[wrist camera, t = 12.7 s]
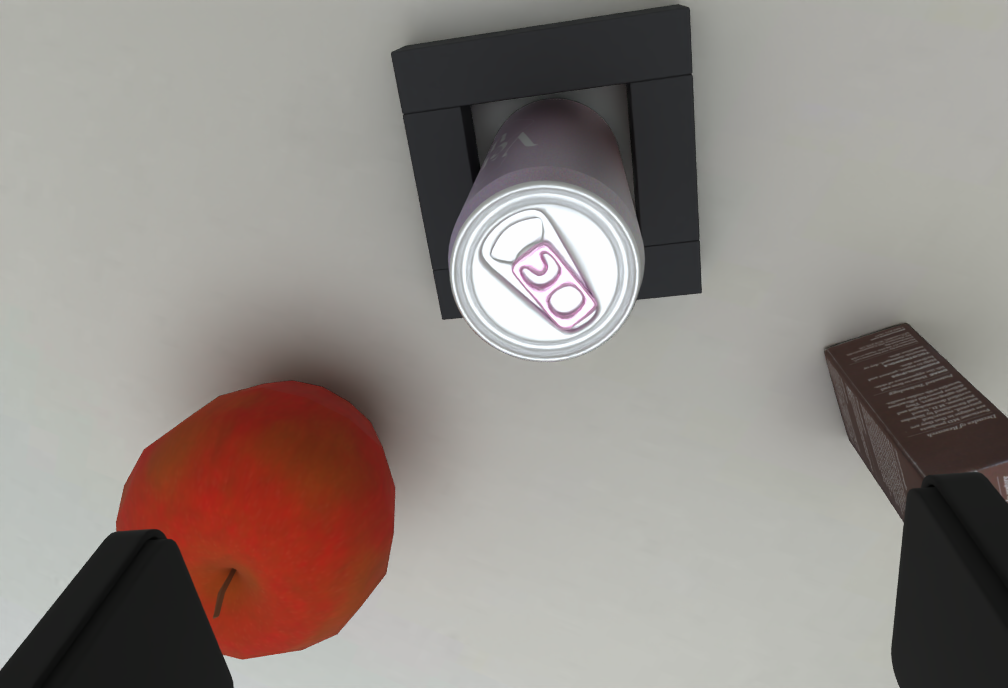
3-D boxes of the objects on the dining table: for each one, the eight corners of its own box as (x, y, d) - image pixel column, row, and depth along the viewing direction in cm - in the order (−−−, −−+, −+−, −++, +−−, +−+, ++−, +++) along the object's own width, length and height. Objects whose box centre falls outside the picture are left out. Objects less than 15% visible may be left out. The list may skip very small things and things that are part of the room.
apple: (436, 353, 41) (375, 524, 28) (412, 531, 46) (352, 743, 34) (205, 312, 41) (40, 465, 28) (207, 495, 46) (70, 693, 34)
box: (936, 414, 40) (1071, 578, 29) (847, 439, 41) (945, 606, 30) (914, 313, 38) (1050, 450, 27) (820, 343, 39) (915, 486, 28)
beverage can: (544, 249, 38) (528, 402, 25) (464, 152, 36) (400, 261, 23) (645, 173, 36) (689, 294, 23) (566, 67, 34) (562, 130, 21)
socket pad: (404, 45, 35) (390, 52, 32) (680, 3, 33) (690, 6, 30) (451, 296, 40) (442, 320, 37) (692, 270, 38) (701, 293, 35)
